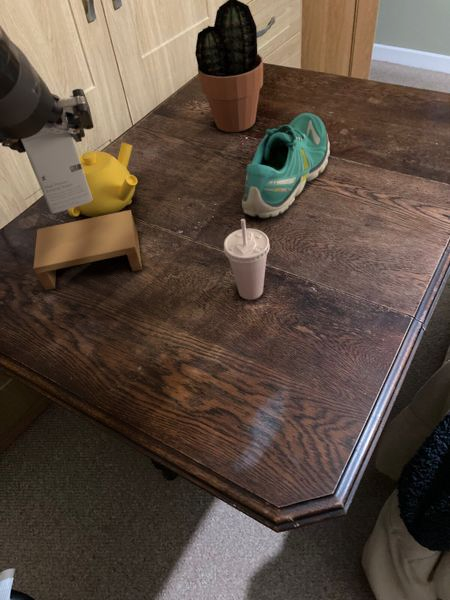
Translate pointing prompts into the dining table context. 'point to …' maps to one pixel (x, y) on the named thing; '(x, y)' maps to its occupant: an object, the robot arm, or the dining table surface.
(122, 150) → the teapot
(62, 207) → the cosmetic box
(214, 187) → the dining table surface
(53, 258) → the wooden display riser
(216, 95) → the potted plant
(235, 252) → the smoothie
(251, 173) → the running shoe
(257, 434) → the dining table surface
